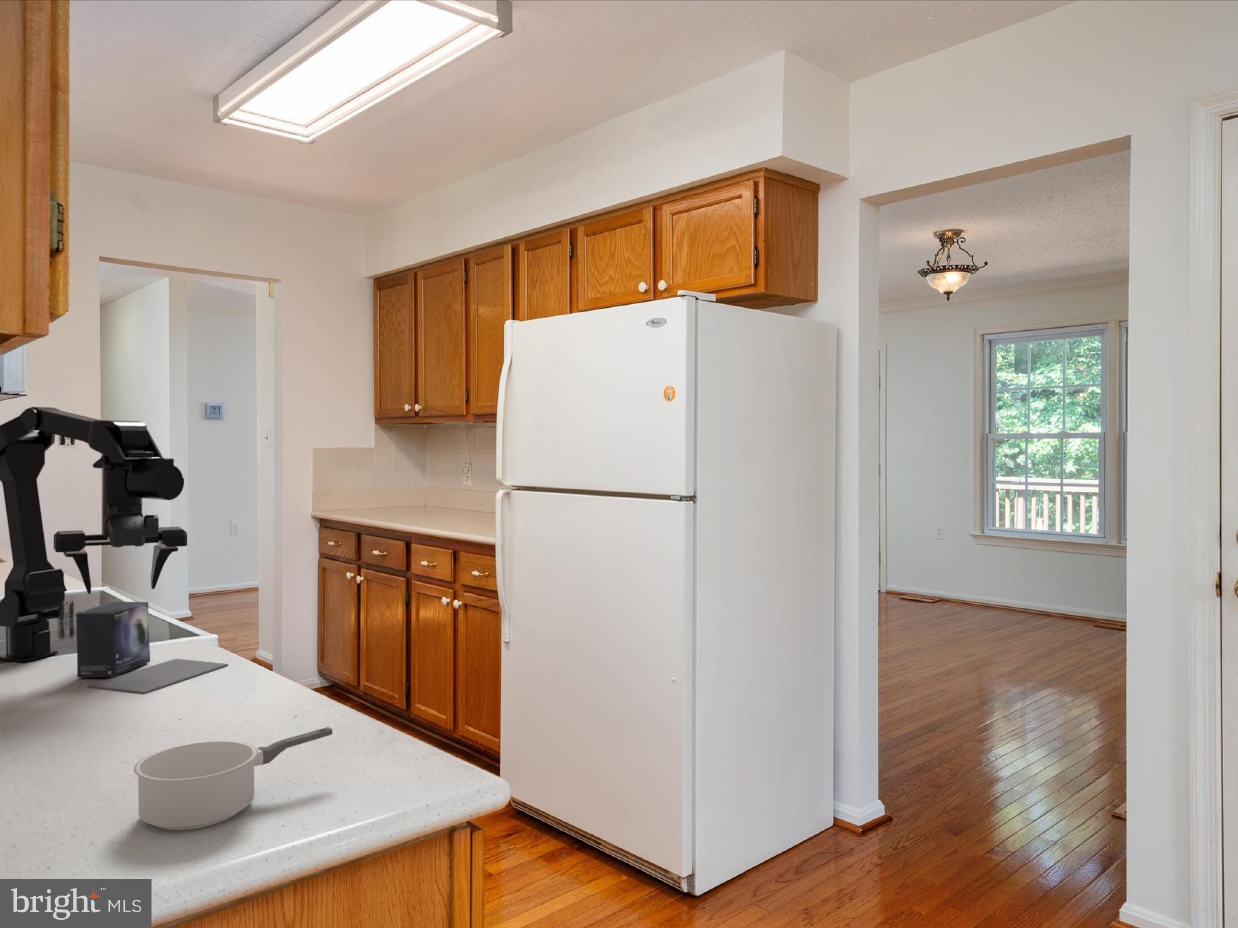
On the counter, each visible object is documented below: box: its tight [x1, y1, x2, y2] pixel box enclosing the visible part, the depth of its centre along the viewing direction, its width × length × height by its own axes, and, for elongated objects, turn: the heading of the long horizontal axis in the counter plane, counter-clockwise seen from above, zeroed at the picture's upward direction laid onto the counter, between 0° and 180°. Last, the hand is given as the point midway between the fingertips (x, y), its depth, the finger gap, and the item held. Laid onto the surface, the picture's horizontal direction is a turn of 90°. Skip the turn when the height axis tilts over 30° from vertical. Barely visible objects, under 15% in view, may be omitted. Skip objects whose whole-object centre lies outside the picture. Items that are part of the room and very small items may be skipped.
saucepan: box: [133, 726, 333, 831], centre depth 93 cm, size 12×20×6 cm, turn 133°
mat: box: [87, 658, 229, 695], centre depth 141 cm, size 11×17×1 cm, turn 162°
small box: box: [75, 601, 151, 679], centre depth 143 cm, size 11×6×10 cm, turn 179°
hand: (121, 590), depth 144 cm, fingers open, 9 cm apart
